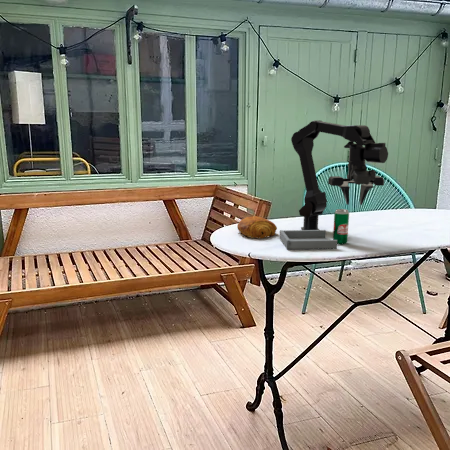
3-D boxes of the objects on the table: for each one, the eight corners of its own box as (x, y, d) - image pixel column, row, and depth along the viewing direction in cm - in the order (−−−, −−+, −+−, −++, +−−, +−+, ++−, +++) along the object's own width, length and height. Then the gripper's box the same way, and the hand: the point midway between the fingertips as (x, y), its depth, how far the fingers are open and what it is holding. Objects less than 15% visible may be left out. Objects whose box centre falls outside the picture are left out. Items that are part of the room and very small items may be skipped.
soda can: (337, 245, 161) (339, 211, 158) (330, 241, 166) (331, 209, 163) (350, 244, 162) (352, 211, 160) (342, 240, 167) (344, 208, 164)
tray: (279, 238, 171) (279, 230, 170) (324, 237, 172) (324, 229, 171) (287, 249, 155) (287, 241, 154) (336, 249, 156) (337, 240, 155)
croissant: (245, 245, 169) (245, 225, 166) (233, 230, 183) (233, 211, 180) (281, 242, 173) (282, 222, 170) (267, 227, 187) (268, 209, 184)
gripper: (337, 163, 155) (335, 209, 158) (392, 163, 155) (388, 208, 159) (328, 160, 165) (326, 203, 169) (379, 160, 166) (376, 203, 170)
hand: (354, 204), depth 166 cm, fingers open, 5 cm apart
